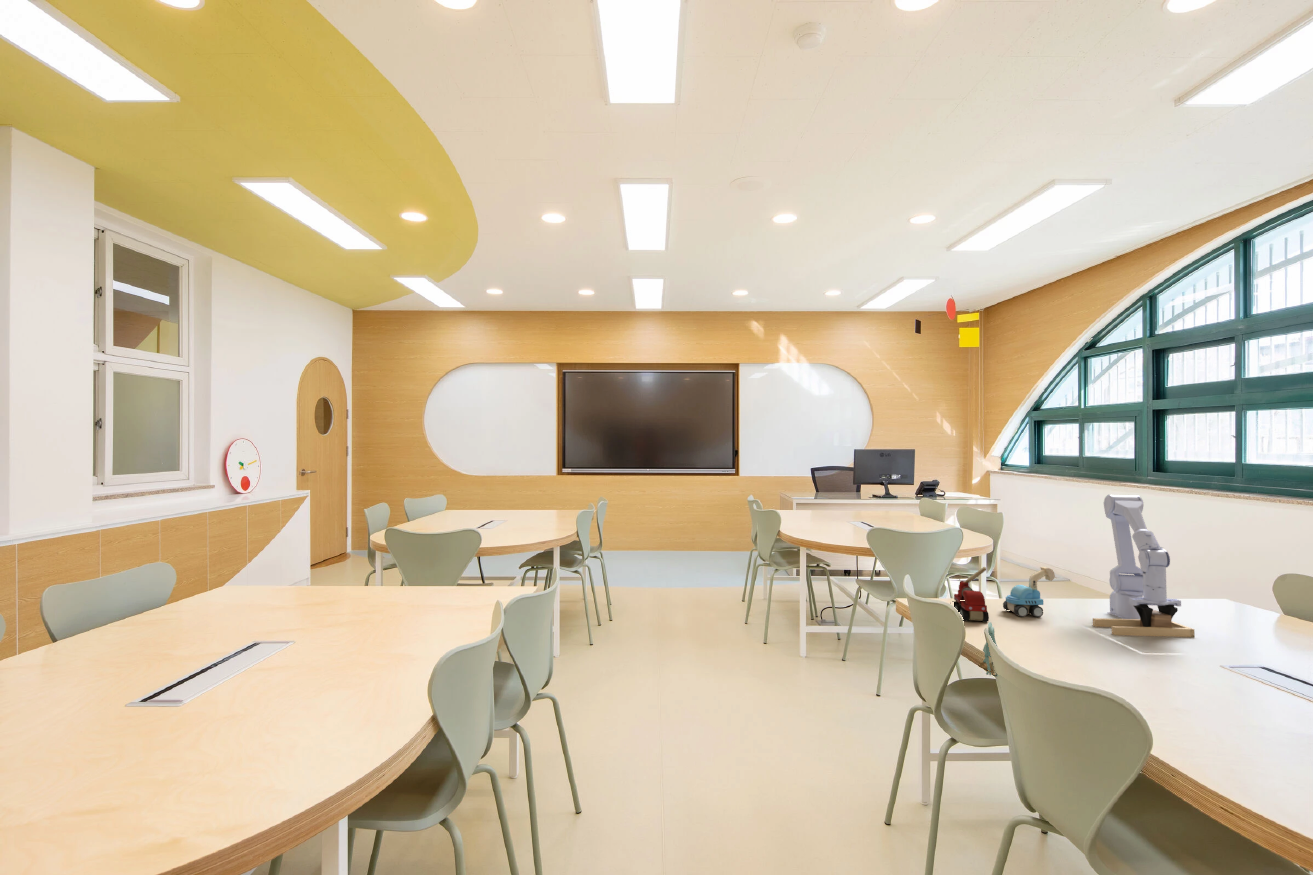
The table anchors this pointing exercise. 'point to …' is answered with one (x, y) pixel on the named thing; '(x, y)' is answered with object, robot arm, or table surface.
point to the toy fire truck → (971, 601)
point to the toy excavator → (1028, 595)
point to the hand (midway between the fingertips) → (1155, 627)
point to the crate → (1159, 620)
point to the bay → (1142, 628)
